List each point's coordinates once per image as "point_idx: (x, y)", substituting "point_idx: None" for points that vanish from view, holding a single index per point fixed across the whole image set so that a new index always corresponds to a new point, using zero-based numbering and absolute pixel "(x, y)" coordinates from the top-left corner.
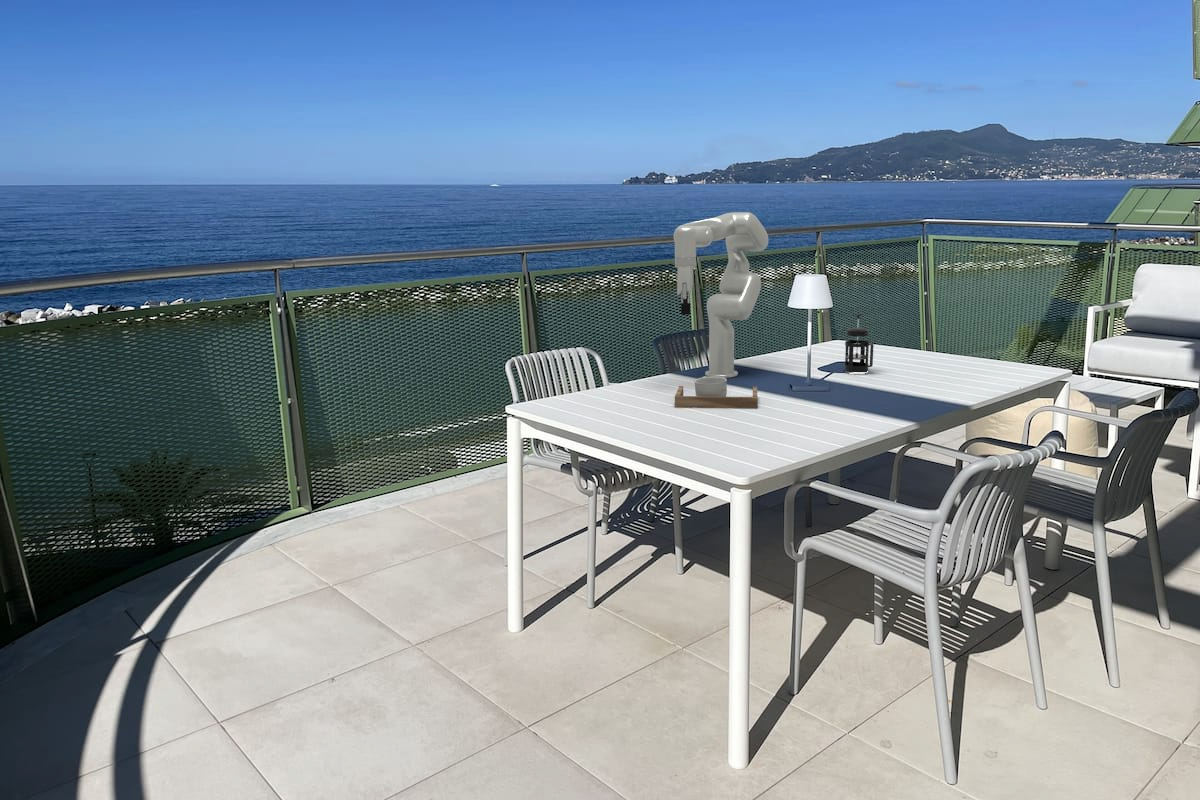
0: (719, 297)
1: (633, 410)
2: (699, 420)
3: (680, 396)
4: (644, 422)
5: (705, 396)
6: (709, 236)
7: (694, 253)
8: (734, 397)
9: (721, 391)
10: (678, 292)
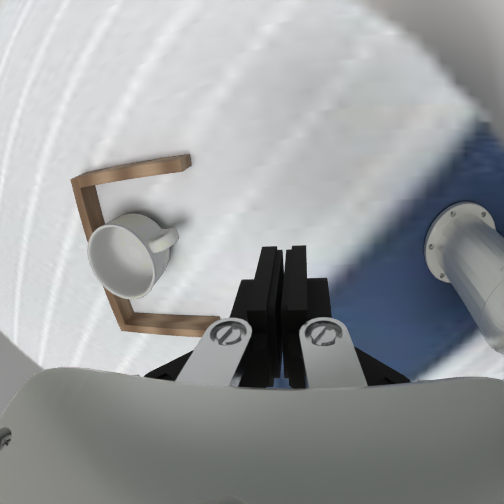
0: None
1: (48, 100)
2: (34, 234)
3: (77, 190)
4: (2, 154)
5: None
6: None
7: None
8: (108, 296)
9: (116, 276)
10: (20, 398)
